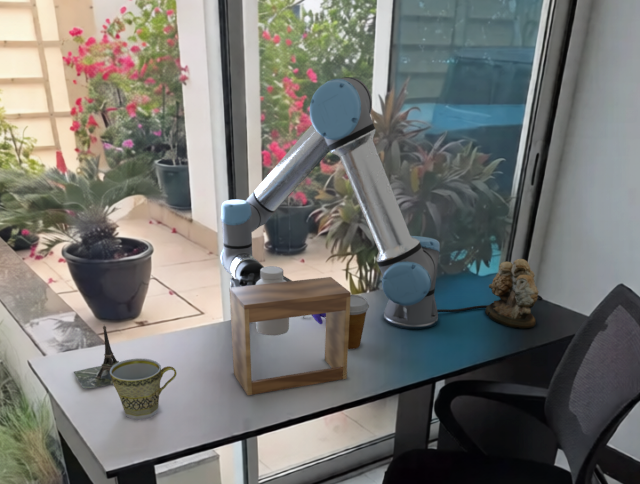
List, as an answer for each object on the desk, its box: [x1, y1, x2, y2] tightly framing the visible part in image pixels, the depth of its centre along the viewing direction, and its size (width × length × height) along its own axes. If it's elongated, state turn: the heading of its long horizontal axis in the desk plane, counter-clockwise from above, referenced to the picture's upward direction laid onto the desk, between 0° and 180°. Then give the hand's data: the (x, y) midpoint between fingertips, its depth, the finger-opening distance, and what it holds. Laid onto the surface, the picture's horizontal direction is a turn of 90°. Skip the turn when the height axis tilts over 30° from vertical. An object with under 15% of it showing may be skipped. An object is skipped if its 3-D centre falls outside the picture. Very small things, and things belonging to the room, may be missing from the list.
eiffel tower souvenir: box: [73, 325, 120, 389], centre depth 147 cm, size 15×10×13 cm
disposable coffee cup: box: [348, 294, 370, 350], centre depth 166 cm, size 10×10×12 cm
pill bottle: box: [255, 265, 290, 337], centre depth 155 cm, size 8×8×15 cm
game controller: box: [302, 313, 326, 325], centre depth 181 cm, size 10×8×10 cm
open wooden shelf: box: [228, 276, 352, 396], centre depth 147 cm, size 11×24×21 cm, turn 114°
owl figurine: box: [484, 258, 539, 330], centre depth 185 cm, size 18×12×17 cm, turn 30°
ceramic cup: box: [110, 358, 177, 421], centre depth 135 cm, size 13×10×10 cm
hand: (279, 303), depth 150 cm, fingers closed on pill bottle, 8 cm apart
